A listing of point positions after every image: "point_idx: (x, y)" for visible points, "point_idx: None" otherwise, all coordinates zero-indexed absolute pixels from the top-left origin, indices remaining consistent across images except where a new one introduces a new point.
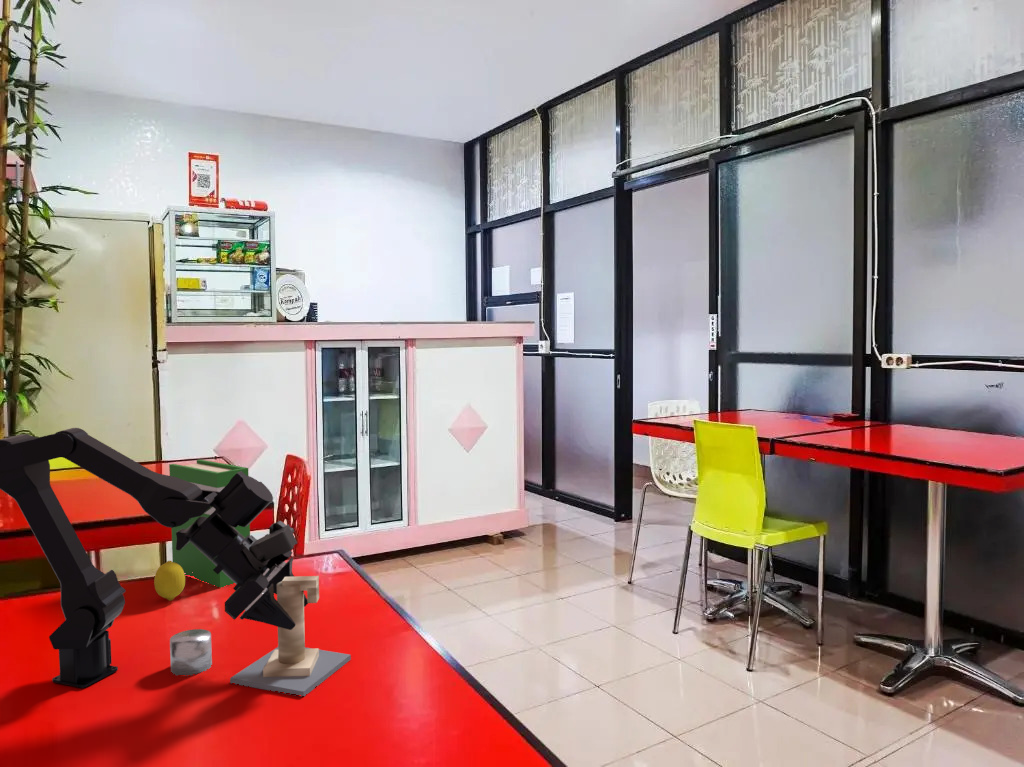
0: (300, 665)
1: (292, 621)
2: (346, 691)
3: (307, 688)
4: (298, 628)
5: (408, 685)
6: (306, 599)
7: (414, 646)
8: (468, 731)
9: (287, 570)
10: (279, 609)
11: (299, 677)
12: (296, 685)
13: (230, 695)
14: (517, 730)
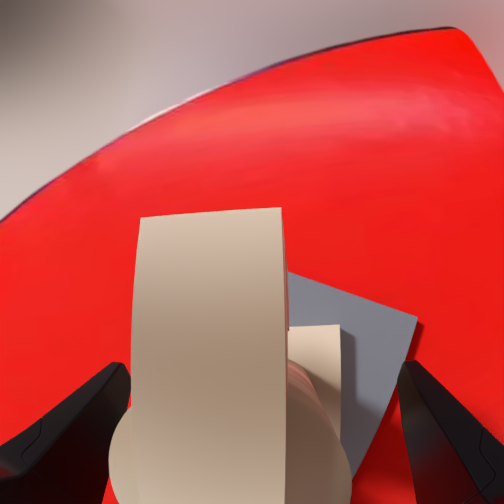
0: (321, 356)
1: (425, 372)
2: (383, 227)
3: (403, 312)
4: (302, 374)
5: (344, 118)
6: (111, 371)
7: (168, 133)
8: (450, 63)
9: (3, 491)
10: (489, 433)
11: (346, 351)
12: (388, 345)
13: (391, 484)
14: (429, 30)
